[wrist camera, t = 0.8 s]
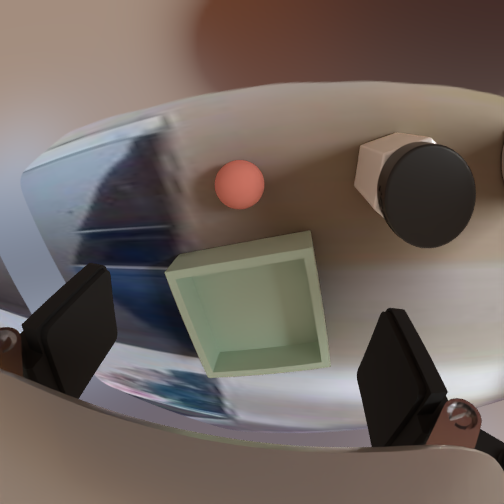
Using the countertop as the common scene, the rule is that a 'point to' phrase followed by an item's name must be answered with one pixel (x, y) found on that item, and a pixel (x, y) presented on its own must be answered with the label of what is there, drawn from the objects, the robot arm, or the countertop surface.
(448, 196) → the jar
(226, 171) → the tomato ball
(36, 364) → the robot arm
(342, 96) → the countertop surface
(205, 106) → the countertop surface
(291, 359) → the green bin
